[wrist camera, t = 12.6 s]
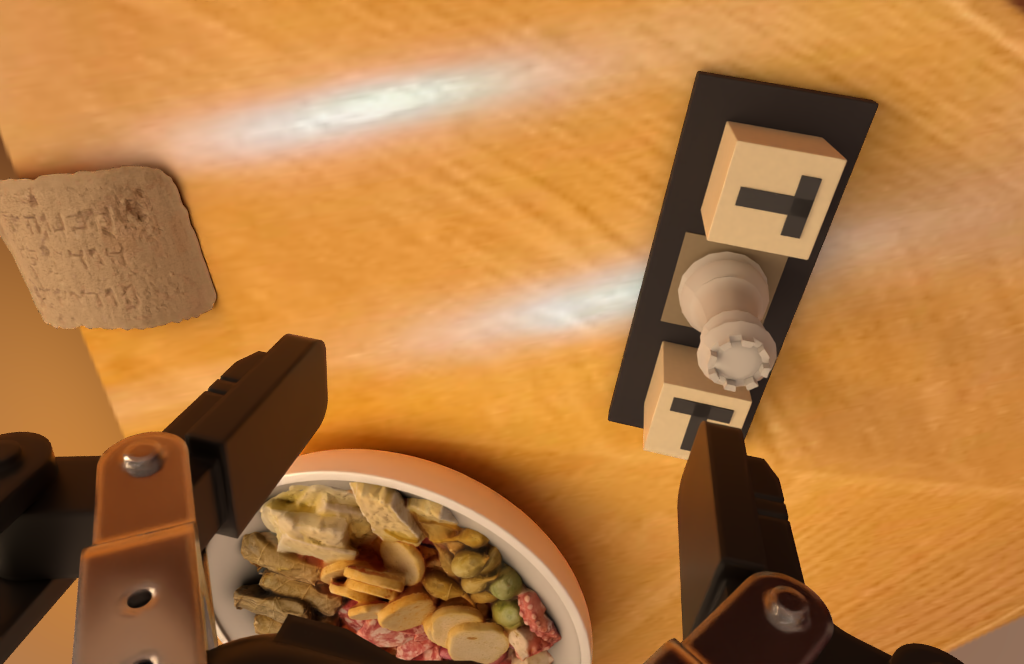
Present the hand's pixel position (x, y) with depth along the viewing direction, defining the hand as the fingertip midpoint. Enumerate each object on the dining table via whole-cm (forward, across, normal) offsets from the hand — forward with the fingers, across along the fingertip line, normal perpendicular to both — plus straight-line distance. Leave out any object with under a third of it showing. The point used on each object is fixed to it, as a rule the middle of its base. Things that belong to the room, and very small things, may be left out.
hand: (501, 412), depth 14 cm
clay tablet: (+23, +30, +11) cm, 39 cm away
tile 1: (+21, -8, +12) cm, 26 cm away
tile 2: (+22, -8, 0) cm, 23 cm away
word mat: (+22, -8, +6) cm, 24 cm away
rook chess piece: (+22, -8, +6) cm, 24 cm away
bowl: (+22, +8, +35) cm, 42 cm away
